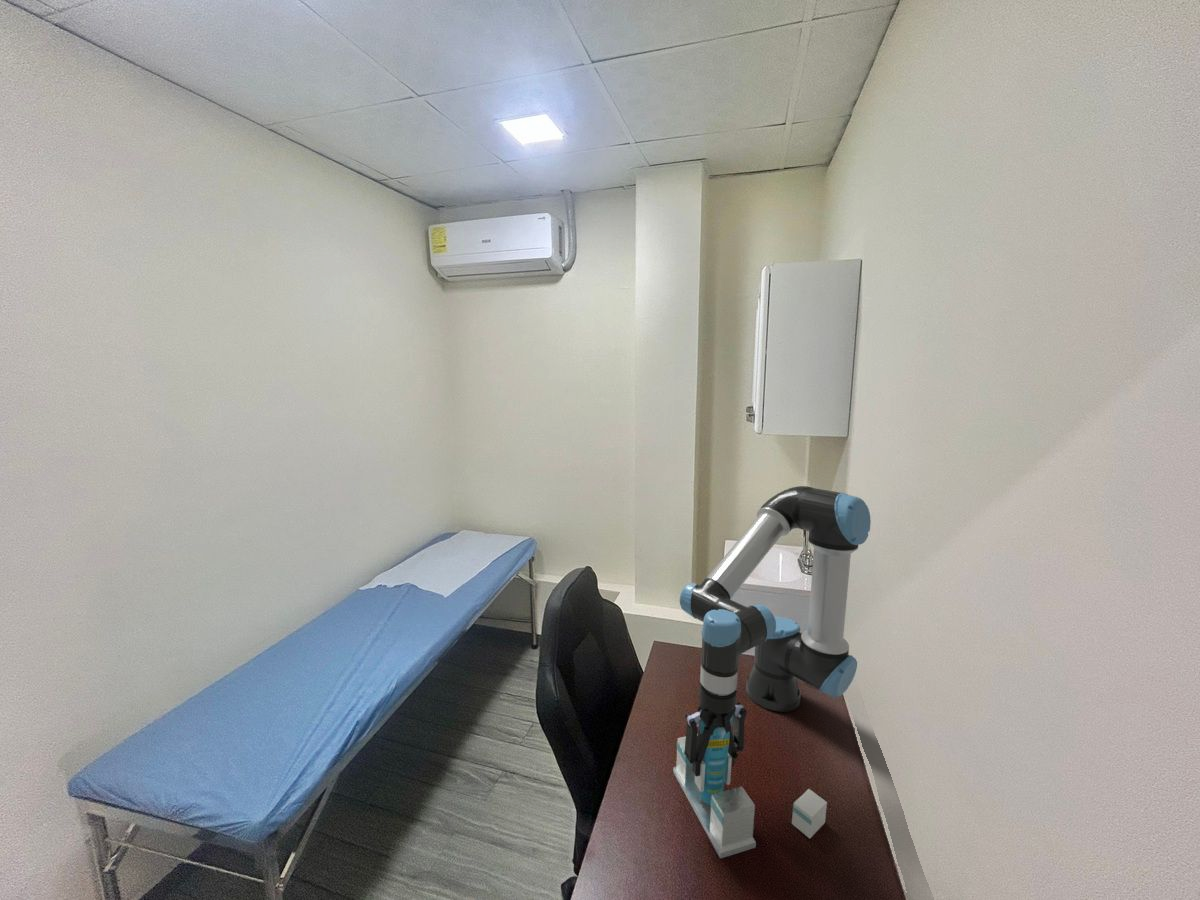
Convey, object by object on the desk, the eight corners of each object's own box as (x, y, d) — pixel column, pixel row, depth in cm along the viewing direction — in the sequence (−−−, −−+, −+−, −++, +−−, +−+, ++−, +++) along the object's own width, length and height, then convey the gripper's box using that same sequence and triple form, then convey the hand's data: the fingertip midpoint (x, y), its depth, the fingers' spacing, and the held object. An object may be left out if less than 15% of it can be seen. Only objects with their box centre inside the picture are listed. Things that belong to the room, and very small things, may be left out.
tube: (700, 809, 97) (704, 726, 94) (690, 789, 102) (694, 710, 99) (732, 802, 99) (737, 721, 96) (721, 783, 103) (726, 705, 101)
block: (806, 808, 100) (808, 788, 100) (824, 823, 97) (827, 802, 97) (791, 824, 97) (793, 803, 96) (809, 839, 94) (811, 818, 93)
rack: (703, 764, 112) (705, 730, 110) (755, 847, 92) (758, 806, 90) (673, 771, 109) (674, 737, 108) (720, 858, 89) (722, 817, 88)
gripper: (746, 667, 103) (739, 760, 106) (669, 681, 97) (665, 778, 101) (767, 688, 96) (759, 787, 99) (686, 704, 90) (681, 808, 93)
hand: (712, 782), depth 100 cm, fingers closed on tube, 6 cm apart
